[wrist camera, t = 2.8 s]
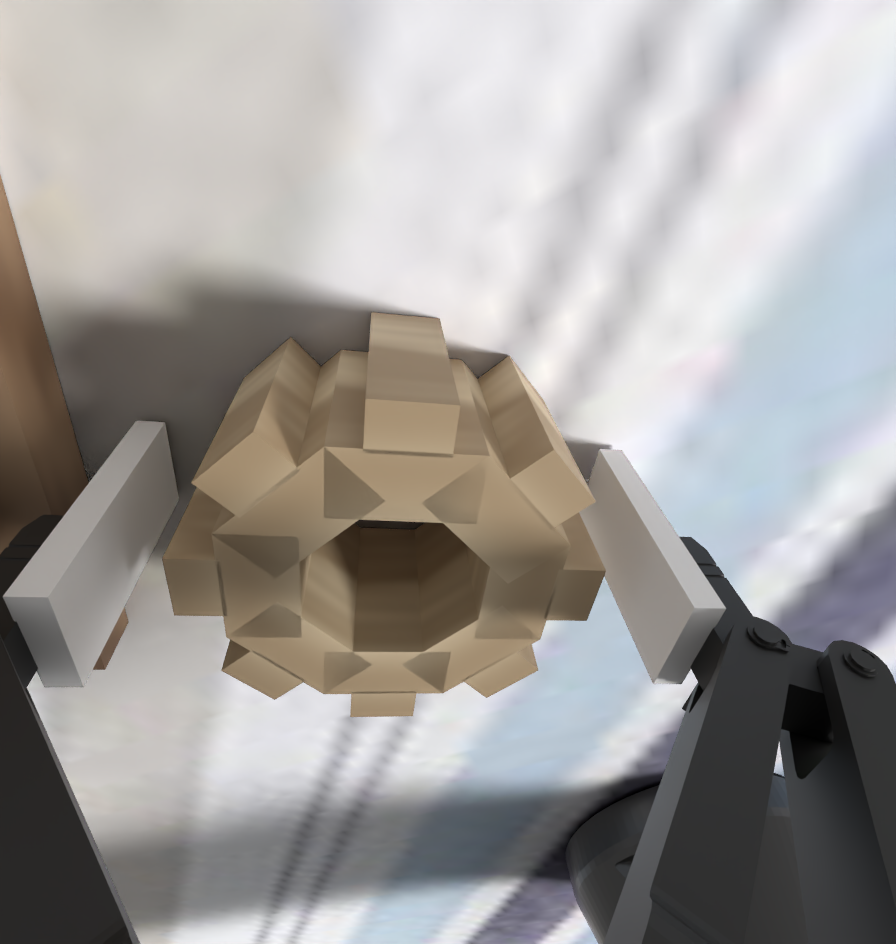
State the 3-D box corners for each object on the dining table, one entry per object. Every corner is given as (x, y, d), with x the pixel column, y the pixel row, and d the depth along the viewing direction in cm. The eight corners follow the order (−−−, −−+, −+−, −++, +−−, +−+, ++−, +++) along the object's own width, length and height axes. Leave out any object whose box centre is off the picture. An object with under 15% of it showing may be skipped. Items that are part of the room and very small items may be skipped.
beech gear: (517, 592, 21) (550, 714, 17) (236, 586, 19) (196, 718, 15) (589, 332, 15) (664, 420, 11) (202, 296, 14) (123, 381, 10)
